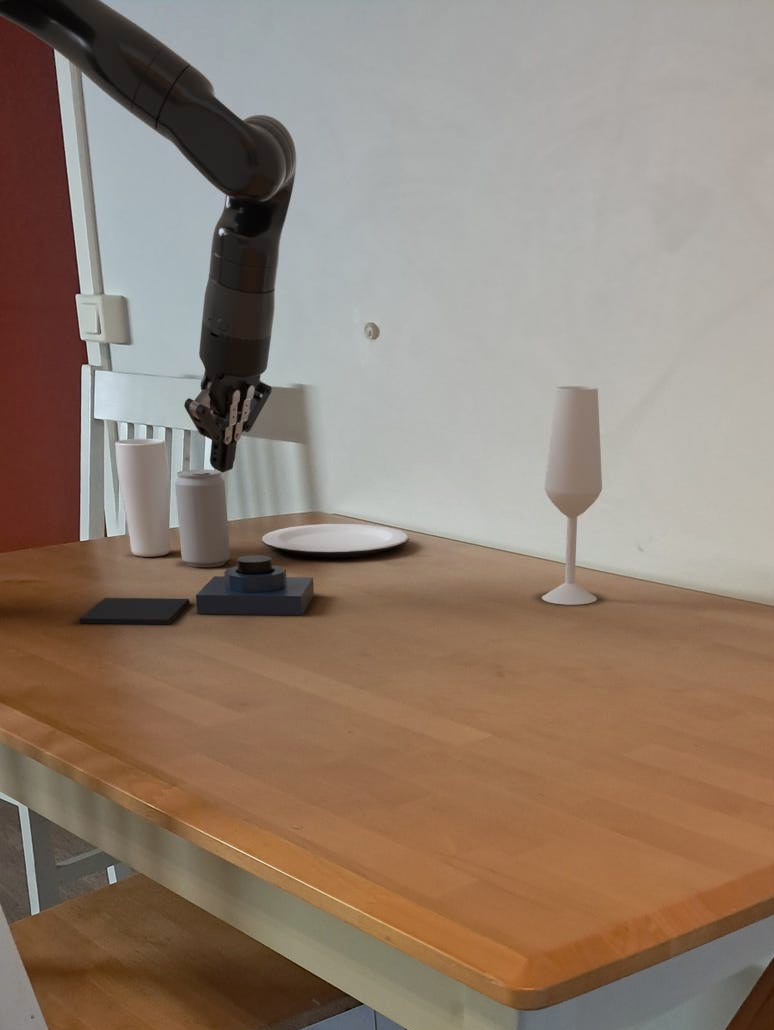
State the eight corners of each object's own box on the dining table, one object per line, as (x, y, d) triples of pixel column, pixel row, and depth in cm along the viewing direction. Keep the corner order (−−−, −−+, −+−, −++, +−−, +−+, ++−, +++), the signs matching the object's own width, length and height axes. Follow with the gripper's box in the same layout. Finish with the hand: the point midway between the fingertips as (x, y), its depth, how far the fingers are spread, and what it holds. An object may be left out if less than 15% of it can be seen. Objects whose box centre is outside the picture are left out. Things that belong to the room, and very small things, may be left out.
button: (234, 577, 147) (233, 562, 146) (241, 570, 150) (240, 555, 150) (269, 577, 147) (268, 562, 146) (275, 570, 150) (274, 555, 150)
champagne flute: (536, 593, 156) (541, 385, 147) (588, 591, 158) (597, 385, 148) (548, 605, 150) (555, 390, 141) (603, 603, 152) (613, 390, 142)
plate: (297, 568, 169) (296, 555, 168) (240, 542, 185) (239, 530, 184) (434, 553, 179) (434, 541, 178) (369, 530, 195) (369, 518, 194)
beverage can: (192, 570, 167) (184, 476, 162) (175, 561, 172) (167, 470, 167) (237, 565, 170) (231, 472, 165) (220, 557, 175) (213, 466, 170)
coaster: (79, 623, 141) (78, 618, 141) (105, 602, 150) (104, 597, 150) (169, 624, 141) (168, 619, 141) (189, 603, 150) (189, 598, 150)
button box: (197, 614, 146) (194, 579, 144) (215, 594, 155) (212, 561, 153) (301, 615, 145) (300, 580, 144) (313, 595, 154) (312, 562, 153)
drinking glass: (117, 553, 177) (104, 441, 171) (160, 547, 181) (149, 437, 175) (141, 561, 172) (129, 445, 166) (185, 554, 177) (175, 441, 170)
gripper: (249, 299, 145) (233, 442, 156) (169, 319, 135) (158, 469, 146) (301, 325, 143) (281, 467, 154) (224, 346, 133) (208, 497, 144)
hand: (221, 468), depth 150 cm, fingers closed
